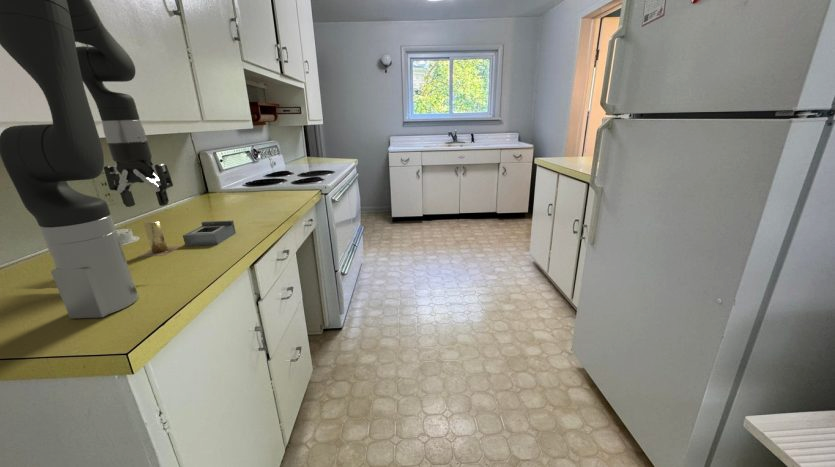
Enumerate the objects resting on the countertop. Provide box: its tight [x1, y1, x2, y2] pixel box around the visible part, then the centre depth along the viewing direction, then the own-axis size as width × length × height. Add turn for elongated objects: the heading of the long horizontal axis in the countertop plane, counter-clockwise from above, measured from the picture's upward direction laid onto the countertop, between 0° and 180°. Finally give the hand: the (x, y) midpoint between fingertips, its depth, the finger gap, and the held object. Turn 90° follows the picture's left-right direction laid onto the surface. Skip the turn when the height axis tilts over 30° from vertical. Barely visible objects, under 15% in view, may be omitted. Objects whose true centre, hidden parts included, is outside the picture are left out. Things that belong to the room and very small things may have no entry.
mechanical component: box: [116, 228, 140, 247], centre depth 99 cm, size 10×4×10 cm
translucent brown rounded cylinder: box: [143, 220, 168, 253], centre depth 90 cm, size 3×3×8 cm
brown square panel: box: [137, 245, 182, 258], centre depth 91 cm, size 7×7×1 cm
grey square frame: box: [182, 220, 237, 247], centre depth 98 cm, size 10×9×5 cm
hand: (147, 205), depth 87 cm, fingers open, 8 cm apart
